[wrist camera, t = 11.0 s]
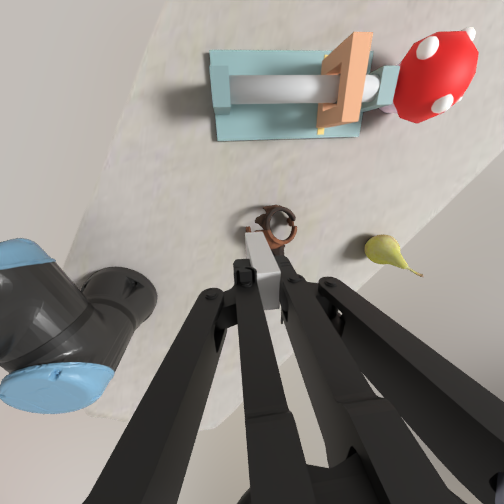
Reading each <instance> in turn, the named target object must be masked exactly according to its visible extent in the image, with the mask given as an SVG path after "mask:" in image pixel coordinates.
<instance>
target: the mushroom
mask: <svg viewBox="0 0 504 504" xmlns="http://www.w3.org/2000/svg"><path fill="white" fill-rule="evenodd" d="M475 33H476V31H475V30H474V28H473V27H467V28H465V29H463V30H461V31H451V32H436V33H434V34H432V35H430V36H428V37H426V38H424V39H422V40H420V41H418V42H416V43H414V44H413V46H412V47H411V49H410V50H409V51H408V53H407V54H406V56H405V57H404V59H403V60H402V61H401V62H400V63H399V64H397V65H396V66H400V70H399V75H398V79H397V84H396V88H395V93H394V98H393V102H392V105H388V106H384V107H380V108H379V109H380V110H382V111H383V112H385V113H397V114H398V115H399V117H400V118H402V119H405V120H408V121H411V122H414V123H420V122H422V121H425V120H427V119H429V118H432V117H434V116H437V115H439V114H441V113H444V112H445V111H446V110H448V109H449V108H450V107H451V106H452V105H454V104H455V103H456V102H459V101H460V100H461V99H462V96H463V94H464V92H465V91H466V89H467V88H468V86H469V84H470V82H471V80H472V78H473V77H474V75H475V73H476V66H477V60H478V51H477V49H476V47H475V45H474V44H473V42H472V41H473V39H474V37H475Z"/></svg>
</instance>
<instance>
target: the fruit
mask: <svg viewBox="0 0 504 504" xmlns="http://www.w3.org/2000/svg"><path fill="white" fill-rule="evenodd" d="M365 254H366V255H367V257H368V258H369V259H370V260H371V261H373V262H375V263H378V264H391V265H394V266H397V267H399V268H402V269H408V270H410V271H412V272H413V273H415V274H416V275H418V276H420V277H424V275H423V274H419V273H417V272H415V271H414V270H412V269H411V268H409V267H408V264H407V263H406V262H405V260H404V258H403V257H402V255H401V253H400V246H399V244H398V242H397V241H396V240H395V239H394V238H393V237H391V236H389V235H377V236H374V237H372V238H371V239H369V240H368V242H367V243H366V245H365Z"/></svg>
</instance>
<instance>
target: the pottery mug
mask: <svg viewBox="0 0 504 504" xmlns="http://www.w3.org/2000/svg"><path fill="white" fill-rule="evenodd" d="M263 209H265V211H266V214H262V215H260V216H259V217H257V218H256V220H255V223H257V224H259V225H260V226H261V227H262V228H263V229H264V230H256V231H254V232H263V234H264V236H265V238H266V240H267V243H268V245H269V247H270V249H271V251H272V254H273V256H280V255H284V247H285V245H284V244H287V243H289V242H290V241H291V240H293V238H294V237H295V235H296V232H297V226H294V221H295V219H296V217H295V215H294V214H293V213H292V211H291V210H289V209H288V208H285V207H282V206H280V205H279V206H278V205H272V206H265V207H263ZM277 211H283V212H285V213H286V214H287V215H288V216H289V218H288V219H287V222H288V224H289V226H292V230H291V234H290V236H289V237H288V238H287V239H285V240H279V239H277V238H276V237H274V235H273V234H272V232H271V230H270V220H271V217H272V215H273V214H274V213H275V212H277ZM248 232H251V229H250V227H246V233H248Z"/></svg>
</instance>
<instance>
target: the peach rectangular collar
mask: <svg viewBox="0 0 504 504" xmlns="http://www.w3.org/2000/svg"><path fill="white" fill-rule="evenodd" d="M372 36H373V32H353V33H352V34H351V35H350V36H349V37H348V38H347V39H345V40H344V41H343V42H342V43H341V44H340V45H339V46H338V47H337V48H336V49H334V50H333V51H332V52H331V53H330V54H329V55H328V56H327V57H326V58H325V59H323V60H322V67H321V75H338V74H340V83H339V91H338V99H337V104H333V103H318V112H317V123H316V128H329V127H334V126H339V125H344V124H349V123H353V122H358V121H359V115H360V109H361V103H362V97H363V91H364V84H365V78H366V72H367V66H368V60H369V54H370V48H371V42H372Z"/></svg>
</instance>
